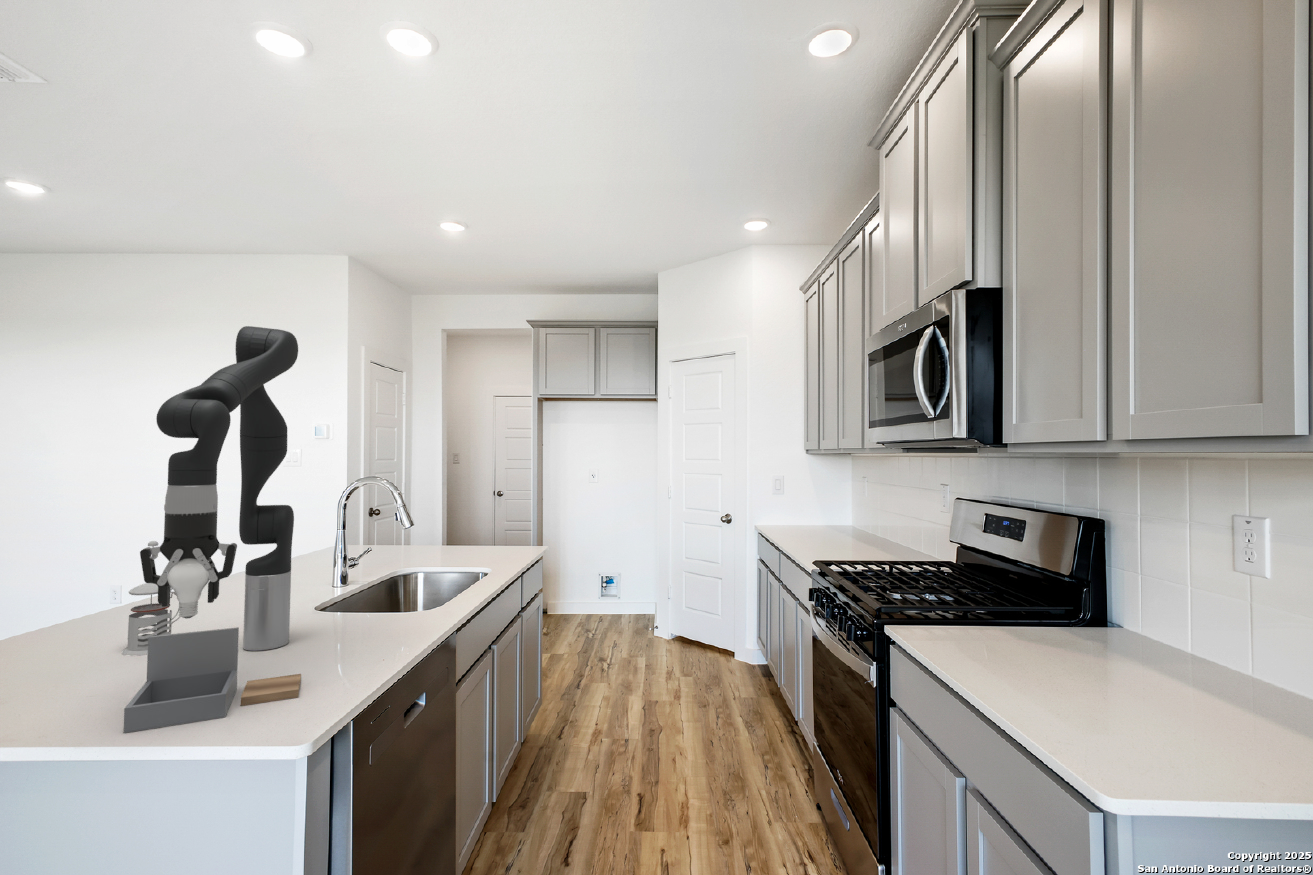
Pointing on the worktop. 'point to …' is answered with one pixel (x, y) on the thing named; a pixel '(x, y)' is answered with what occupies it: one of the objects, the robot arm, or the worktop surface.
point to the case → (186, 679)
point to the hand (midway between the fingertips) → (188, 603)
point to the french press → (147, 619)
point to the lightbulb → (188, 585)
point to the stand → (271, 689)
